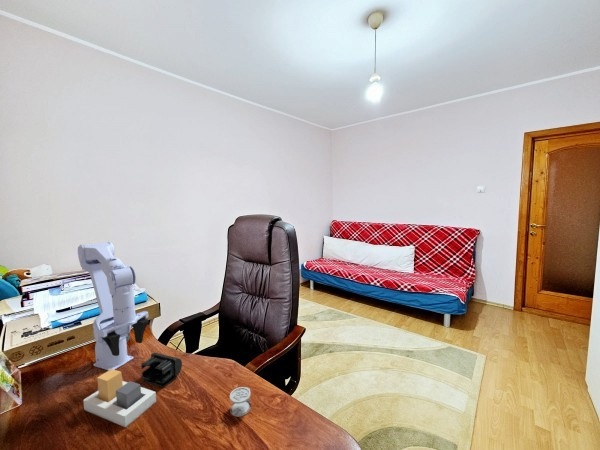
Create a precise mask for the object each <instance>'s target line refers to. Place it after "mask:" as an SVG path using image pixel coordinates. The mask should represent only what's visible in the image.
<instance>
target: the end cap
mask: <svg viewBox="0 0 600 450" xmlns="http://www.w3.org/2000/svg"><path fill="white" fill-rule="evenodd" d="M182 361H183V360H182V359H181V358H179V357H175V356H171V355H166V354H163V353H159V352H153V353H150V357H149V358H148V359H147V360H145V361H144V362H142V363H141V365H140V366H141V370H142V369H144V368H146V367H147V368H146V369H145V370H143V371H142V372H141V377H142V378H143V379H142V381H143V382H144V383H147V384H150V385H153V386H157V387H160V388H167V387H168V385H170V384H171V383H172V382H173V381H174V380H176V378H178V376H179V374H180V372H181V371H182V367H183V362H182Z"/></svg>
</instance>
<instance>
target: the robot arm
mask: <svg viewBox="0 0 600 450" xmlns="http://www.w3.org/2000/svg"><path fill="white" fill-rule="evenodd" d="M77 256H78V257H77V258H78V261H79V265H80V267H81V270H82V271H86V272H88V274H89V276H90V279H91V282H92V286H93V291H94V293H95V294H94V295H95V296H96V297H95V298H96V302H97V305H98V309H99V315H98V316H97V317H96V318H95V319H94V320H93V322H92V328H93V331H92V332H93V336H94V337H93V338H94V341H95V342H96V343H95V346H94V353H95V354H94V356H95V363H93V366H94V367H96V368H99V369H103V370H105V371H109V370H111V369H114V370H117V369H118V368H120V367H122V366H123V365H125V364H126V363H128V362H131V361H132V360H134V358H135V357H134V356H131V355H128V347H127V346H128V345H127V341H126V337H127V336H128V333H129V332H130V333H131V331H132V329H133V333H134V340H135V343H137V344H142V343H143V339H144V335H145V330H146V329H147V325H148V324H149V319H147V318H149V311H147V310H144V311H141V312H138V313H136V304H135V303H136V302H135V294H134V285H135V284H136V282H137V281H136V280H137V279H136V278H137V277H136V276H137V275H136V272H135V269H134V268H133V266H126V265H125V264H124V263H123V262H122V260H121V259H120V258H118V257H115V247H114V244H113V243H112V242H111V241H107V242H106V241H105V242H97V243H89V244H86V243H85V244H79V245H78V247H77ZM131 325H132V326H133V328H131Z"/></svg>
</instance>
